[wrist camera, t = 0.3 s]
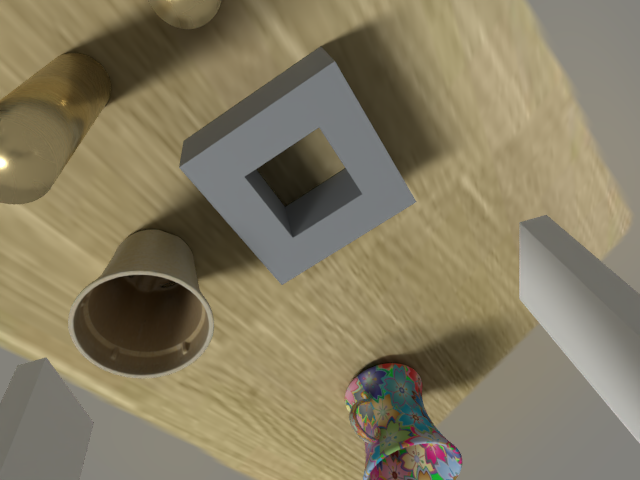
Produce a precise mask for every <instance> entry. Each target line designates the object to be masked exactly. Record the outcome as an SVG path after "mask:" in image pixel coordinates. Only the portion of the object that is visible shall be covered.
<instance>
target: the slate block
mask: <svg viewBox="0 0 640 480" xmlns="http://www.w3.org/2000/svg"><path fill="white" fill-rule="evenodd" d="M317 128H320V129H321V131H322V132H323V134H324V135H325V137H326V138H327V140H328V142H329V143H330V145H331V146H332V148H333V149H334V151H335V152H336V154H337V155H338V157H339V159H340V160H341V162H342V163H343V165H344V166H345V169H344V170H342V171H341V172H339V173H337V174H336V175H334V176H333V177H331V178H330V179H328V180H327V181H325V182H323V183H322V184H320V185H319V186H317V187H316V188H314V189H313V190H311V191H309V192H308V193H306V194H305V195H303V196H302V197H300V198H299V199H297V200H296V201H294V202H292V203H291V204H289V205H288V206H286V207H285V206H284V205H283V204H282V202H281V201H280V200H279V198H278V197H277V196H276V195H275V193H274V192H273V191H272V189H271V188H270V187H269V185H268V184H267V183H266V182H265V180H264V179H263V178H262V176H261V175H260V174H259V172H258V171H257V170H256V169H257V168H259V167H260V166H262V165H263V164H265V163H266V162H268V161H269V160H271V159H272V158H274V157H275V156H277V155H278V154H280V153H281V152H283V151H284V150H286V149H287V148H289V147H290V146H292V145H293V144H295V143H296V142H298V141H299V140H301V139H302V138H304V137H305V136H307V135H308V134H310V133H311V132H313V131H314V130H316V129H317ZM179 168H180V169H181V170H182V171H183V172H184V173H185V175H186V176H187V177H188V178H189V179H190V180H191V181H192V183H193V184H194V185H195V186H196V187H197V188H198V189H199V191H200V192H201V193H202V194H203V195H204V196H205V198H206V199H207V200H208V201H209V202H210V203H211V204H212V206H213V207H214V208H215V209H216V210H217V211H218V212H219V214H220V215H221V216H222V217H223V218H224V219H225V220H226V222H227V223H228V224H229V225H230V226H231V227H232V228H233V230H234V231H235V232H236V233H237V234H238V235H239V236H240V238H241V239H242V240H243V241H244V242H245V243H246V245H247V246H248V247H249V248H250V249H251V250H252V251H253V253H254V254H255V255H256V256H257V257H258V258H259V259H260V261H261V262H262V263H263V264H264V265H265V266H266V267H267V269H268V270H269V271H270V272H271V273H272V274H273V275H274V277H275V278H276V279H277V280H278V281H279V282H280V283H281V285H283V284H284V283H286V282H287V281H289V280H291V279H292V278H294V277H295V276H297V275H299V274H300V273H302V272H304V271H305V270H307V269H308V268H310V267H312V266H313V265H315V264H317V263H318V262H320V261H321V260H323V259H325V258H326V257H328V256H329V255H331V254H333V253H334V252H336V251H338V250H339V249H341V248H342V247H344V246H346V245H347V244H349V243H351V242H352V241H354V240H355V239H357V238H359V237H360V236H362V235H363V234H365V233H367V232H368V231H370V230H372V229H373V228H375V227H376V226H378V225H380V224H381V223H383V222H385V221H386V220H388V219H389V218H391V217H393V216H394V215H396V214H397V213H399V212H401V211H402V210H404V209H406V208H407V207H409V206H410V205H412V204H414V203H415V202H416V201H415V199H414V197H413V195H412V194H411V192H410V190H409V188H408V187H407V185H406V183H405V182H404V180H403V178H402V176H401V175H400V173H399V171H398V169H397V168H396V166H395V164H394V163H393V161H392V159H391V157H390V156H389V154H388V152H387V150H386V149H385V147H384V145H383V143H382V142H381V140H380V138H379V137H378V135H377V133H376V131H375V130H374V128H373V126H372V124H371V123H370V121H369V119H368V118H367V116H366V114H365V112H364V111H363V109H362V107H361V105H360V104H359V102H358V100H357V99H356V97H355V95H354V93H353V92H352V90H351V88H350V86H349V85H348V83H347V81H346V80H345V78H344V76H343V74H342V73H341V71H340V69H339V67H338V66H337V64H336V62H335V61H334V60H333V59H332V58H331V57H330V55H329V54H328V53H327V52H326V51H325V50H324V49H323V48H322V47H321V46H320V47H319V48H318V49H316V50H315V51H313V52H312V53H310V54H309V55H307V56H306V57H305V58H303V59H302V60H300V61H299V62H297V63H296V64H294V65H293V66H291V67H290V68H289V69H287V70H286V71H284V72H283V73H281V74H280V75H278V76H277V77H276V78H274V79H273V80H271V81H270V82H268V83H267V84H265V85H264V86H263V87H261V88H260V89H258V90H257V91H255V92H254V93H252V94H251V95H250V96H248V97H247V98H245V99H244V100H242V101H241V102H239V103H238V104H237V105H235V106H234V107H232V108H231V109H229V110H228V111H226V112H225V113H224V114H222V115H221V116H219V117H218V118H216V119H215V120H213V121H212V122H211V123H209V124H208V125H206V126H205V127H203V128H202V129H200V130H199V131H198V132H196V133H195V134H193V135H192V136H190V137H189V138H187V139H186V140H184V142H183V148H182V154H181V160H180V166H179Z"/></svg>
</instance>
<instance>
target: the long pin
mask: <svg viewBox="0 0 640 480" xmlns="http://www.w3.org/2000/svg"><path fill="white" fill-rule="evenodd" d="M110 95H111V82H110V79H109V76H108V74H107V72H106V71H105V69H104V68H103V67H102V66H101V65H100V64H99V63H98V62H97V61H96V60H94V59H93V58H91V57H89V56H87V55H84V54H80V53H66V54H63V55H60V56H58V57H57V58H55V59H54V60H53V61H51V62H50V63H49V64H47V65H46V66H45V67H44V68H42V69H41V70H40V71H38V72H37V73H36V74H34V75H33V76H32V77H30V78H29V79H28V80H26V81H25V82H24V83H22V84H21V85H20V86H18V87H17V88H16V89H14V90H13V91H12V92H10V93H9V94H8V95H7V96H5V97H4V98H3V99H1V100H0V202H1V203H6V204H25V203H29V202H33V201H35V200H37V199H39V198H41V197H42V196H44V195H45V194H46V193H47V192H48V191H49V190H50V188H51V187H52V185H53V184H54V182H55V181H56V179H57V178H58V176H59V175H60V173H61V172H62V170H63V168H64V167H65V165H66V164H67V162H68V161H69V159H70V158H71V156H72V155H73V153H74V152H75V150H76V149H77V147H78V146H79V144H80V143H81V141H82V140H83V138H84V137H85V135H86V134H87V132H88V131H89V129H90V128H91V126H92V125H93V123H94V122H95V120H96V119H97V117H98V116H99V114H100V113H101V111H102V110H103V108H104V106H105V105H106V103H107V102H108V100H109V98H110Z"/></svg>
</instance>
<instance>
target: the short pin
mask: <svg viewBox="0 0 640 480" xmlns="http://www.w3.org/2000/svg"><path fill="white" fill-rule="evenodd" d="M148 2H149V4H150V5H151V7H152V9H153V10H154V12H155V13H156V14H157V15H158V16H159V17H160V18H161V19H162V20H164V21H165V22H166V23H168V24H170V25H172V26H174V27H177V28H181V29H195V28H198V27H201V26H203V25H205V24H207V23H208V22H209V21H210V20H211V19H212V18H213V17H214V16H215V15H216V13H217V11H218V9H219V7H220V4H221V0H148Z"/></svg>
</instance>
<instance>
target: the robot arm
mask: <svg viewBox="0 0 640 480" xmlns="http://www.w3.org/2000/svg"><path fill="white" fill-rule="evenodd" d="M519 299H520V300H521V301H522V302H523V304H524V305H525V306H526V307H527V308H528V310H529V311H530V312H531V313H532V315H533V316H534V317H535V318H536V319H537V321H538V322H539V323H540V324H541V325H542V327H543V328H544V329H545V330H546V331H547V333H548V334H549V335H550V336H551V337H552V339H553V340H554V341H555V342H556V343H557V344H558V346H559V347H560V348H561V349H562V351H563V352H564V353H565V354H566V355H567V357H568V358H569V359H570V360H571V361H572V363H573V364H574V365H575V366H576V367H577V369H578V370H579V371H580V372H581V373H582V375H583V376H584V377H585V378H586V380H587V381H588V382H589V383H590V384H591V385H592V387H593V388H594V389H595V390H596V392H597V393H598V394H599V395H600V396H601V397H602V399H603V400H604V401H605V402H606V404H607V405H608V406H609V407H610V408H611V409H612V411H613V412H614V413H615V414H616V416H617V417H618V418H619V419H620V420H621V422H622V423H623V424H624V425H625V426H626V428H627V429H628V430H629V431H630V432H631V434H632V435H633V436H634V437H635V438H636V440H637V441H638V442H639V443H640V294H639V293H638V292H636V291H635V290H634V289H633V288H632V287H630V286H629V285H628V284H627V283H626V282H625V281H623V280H622V279H621V278H620V277H619V276H617V275H616V274H615V273H614V272H613V271H612V270H611V269H609V268H608V267H607V266H606V265H605V264H603V263H602V262H601V261H600V260H599V259H598V258H596V257H595V256H594V255H593V254H592V253H591V252H589V251H588V250H587V249H586V248H585V247H583V246H582V245H581V244H580V243H579V242H578V241H576V240H575V239H574V238H573V237H572V236H571V235H569V234H568V233H567V232H566V231H565V230H564V229H562V228H561V227H560V226H559V225H558V224H556V223H555V222H554V221H553V220H552V219H551V218H549V217H548V216H547V215H544V216H541V217H537V218H534V219H530V220H527V221H523V222H520V292H519ZM93 423H94V422H93V421H92V419H91V418H90V417H89V415H88V414H87V412H86V411H85V410H84V408H83V407H82V406H81V404H80V403H79V402H78V400H77V399H76V397H75V396H74V395H73V393H72V392H71V391H70V389H69V388H68V386H67V385H66V384H65V382H64V381H63V380H62V378H61V377H60V376H59V374H58V373H57V371H56V370H55V369H54V367H53V366H52V365H51V363H50V362H49V360H48V359H47V358H42V359H39V360H35V361H32V362H28V363H25V364H21V365H18V366H17V368H16V371H15V372H14V375H13V377H12V379H11V381H10V383H9V386H8V388H7V390H6V392H5V394H4V397H3V399H2V401H1V403H0V480H79V479H80V475H81V471H82V467H83V464H84V460H85V455H86V452H87V447H88V443H89V440H90V435H91V431H92V428H93Z"/></svg>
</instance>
